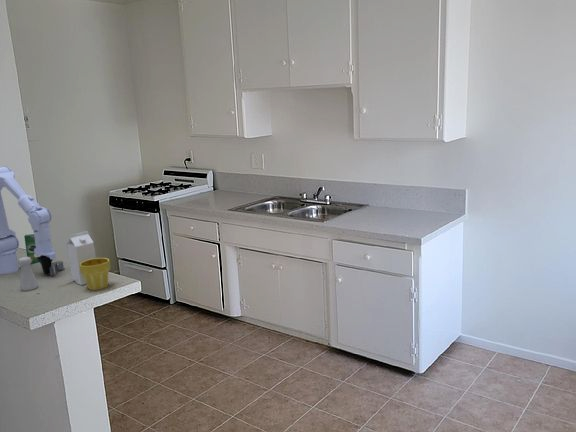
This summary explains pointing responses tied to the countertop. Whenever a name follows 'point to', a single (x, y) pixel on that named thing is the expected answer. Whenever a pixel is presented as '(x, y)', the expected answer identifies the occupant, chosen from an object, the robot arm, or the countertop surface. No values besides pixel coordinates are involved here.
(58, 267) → the knob
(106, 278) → the plant pot
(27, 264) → the salt shaker
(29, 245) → the coffee box
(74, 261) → the milk carton
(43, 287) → the countertop surface
